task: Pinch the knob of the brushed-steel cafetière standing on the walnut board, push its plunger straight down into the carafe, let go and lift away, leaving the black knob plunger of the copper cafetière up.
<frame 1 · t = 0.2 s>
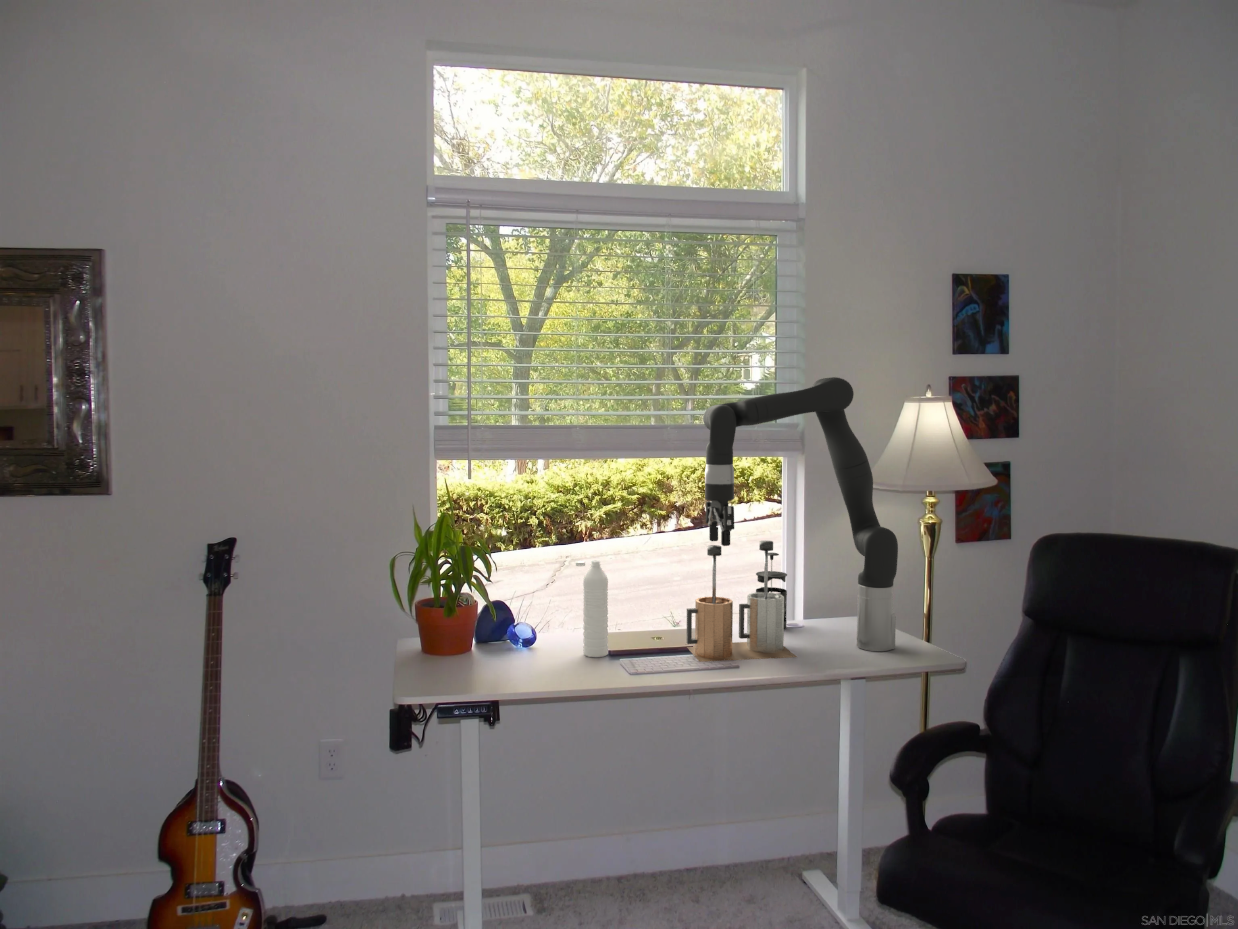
hand: (719, 543, 228), 30 cm above the table, fingers open, 8 cm apart
black knob plunger: (714, 577, 226), point 21 cm above the table, slide at 0.4 cm
copper carafe: (713, 653, 227), resting on board
steel carafe: (765, 647, 232), resting on board
board: (739, 655, 230), on the table
steel plunger: (766, 571, 231), point 22 cm above the table, slide at 0.0 cm
water bottle: (591, 655, 230), on the table
french press: (770, 631, 255), on the table
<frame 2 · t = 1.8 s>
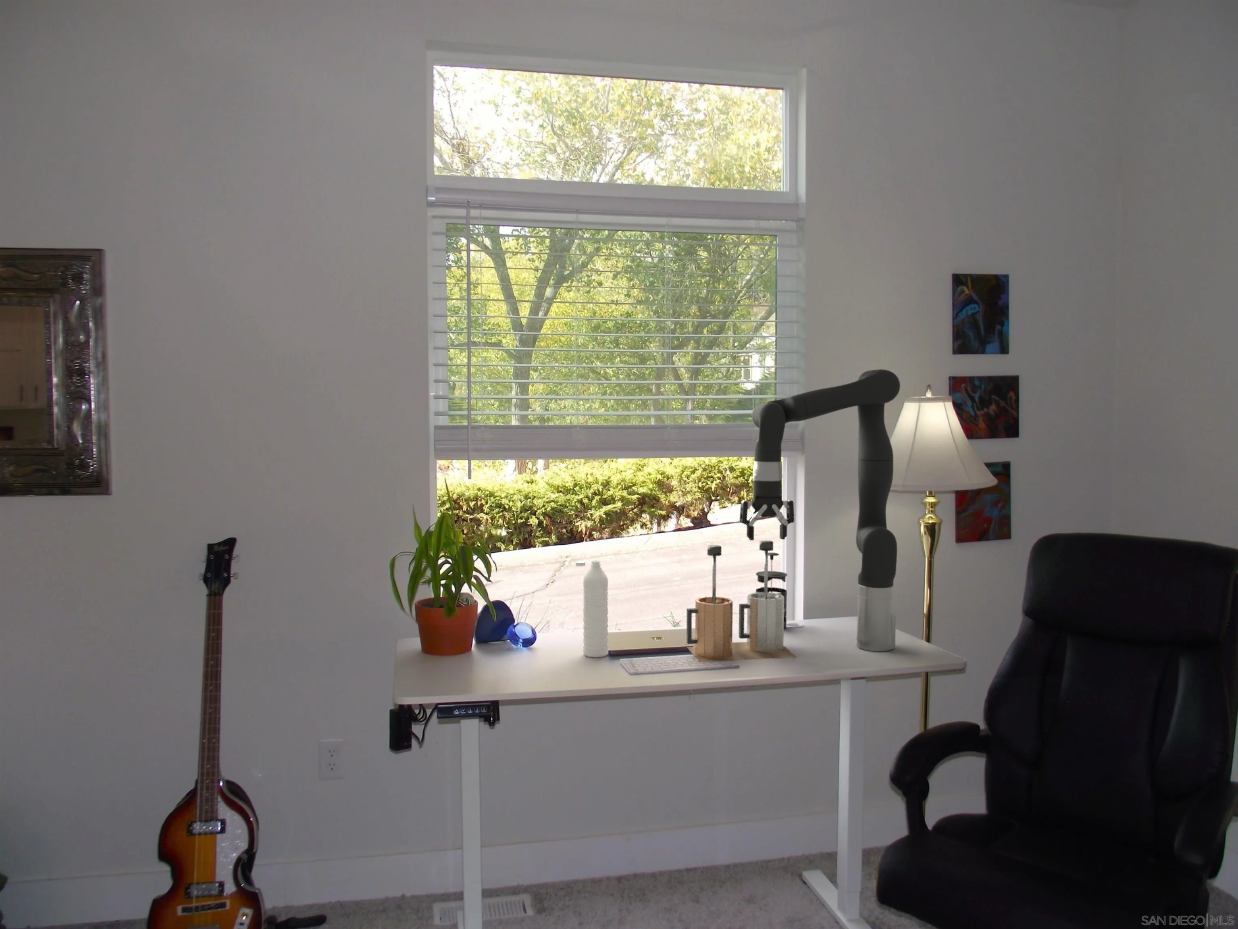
hand: (766, 539, 230), 30 cm above the table, fingers open, 8 cm apart
nothing on the table moved.
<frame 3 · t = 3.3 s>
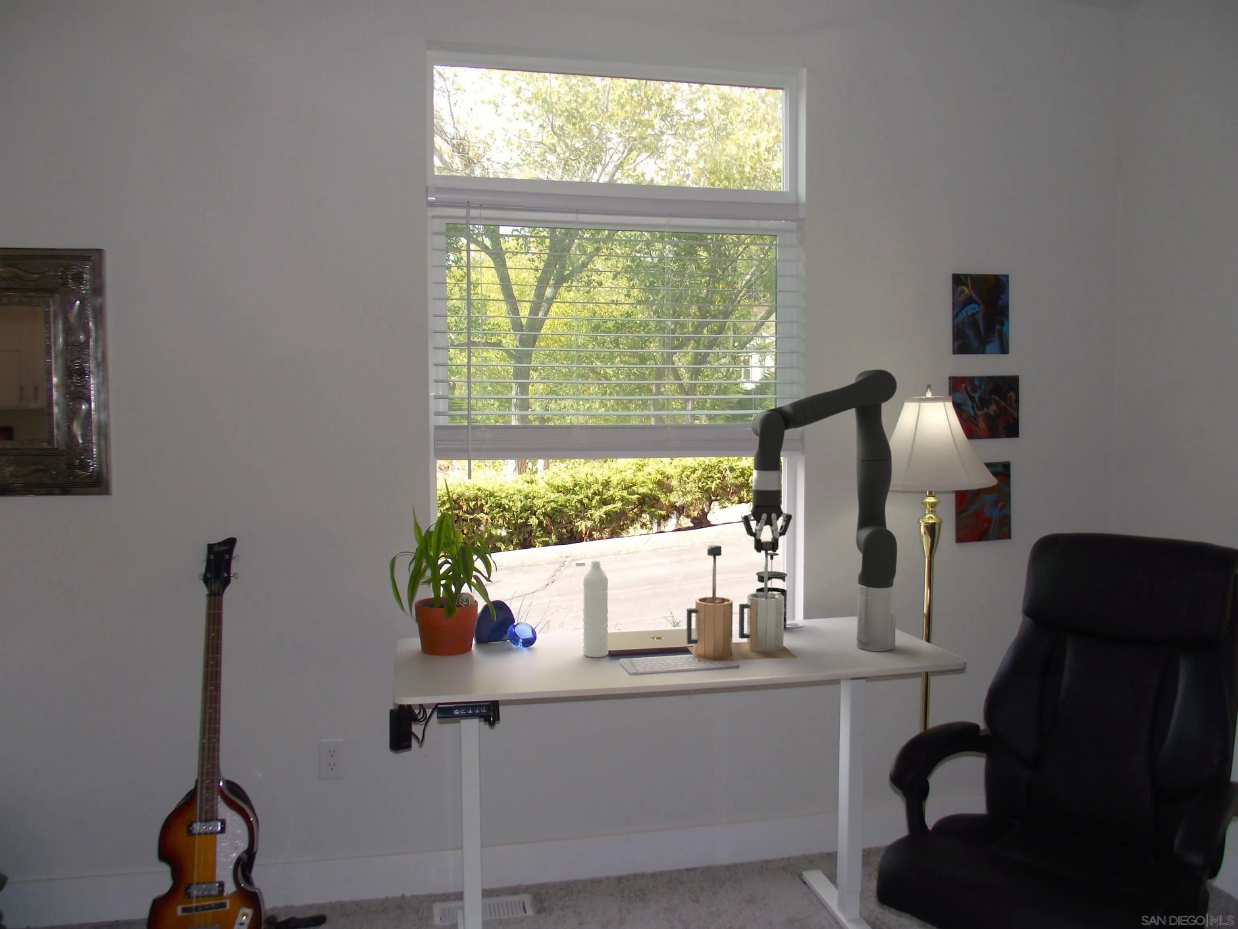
hand: (766, 551, 230), 27 cm above the table, fingers closed on steel plunger, 3 cm apart
steel plunger: (766, 571, 231), point 22 cm above the table, slide at 0.0 cm, touching gripper
everything else where it was.
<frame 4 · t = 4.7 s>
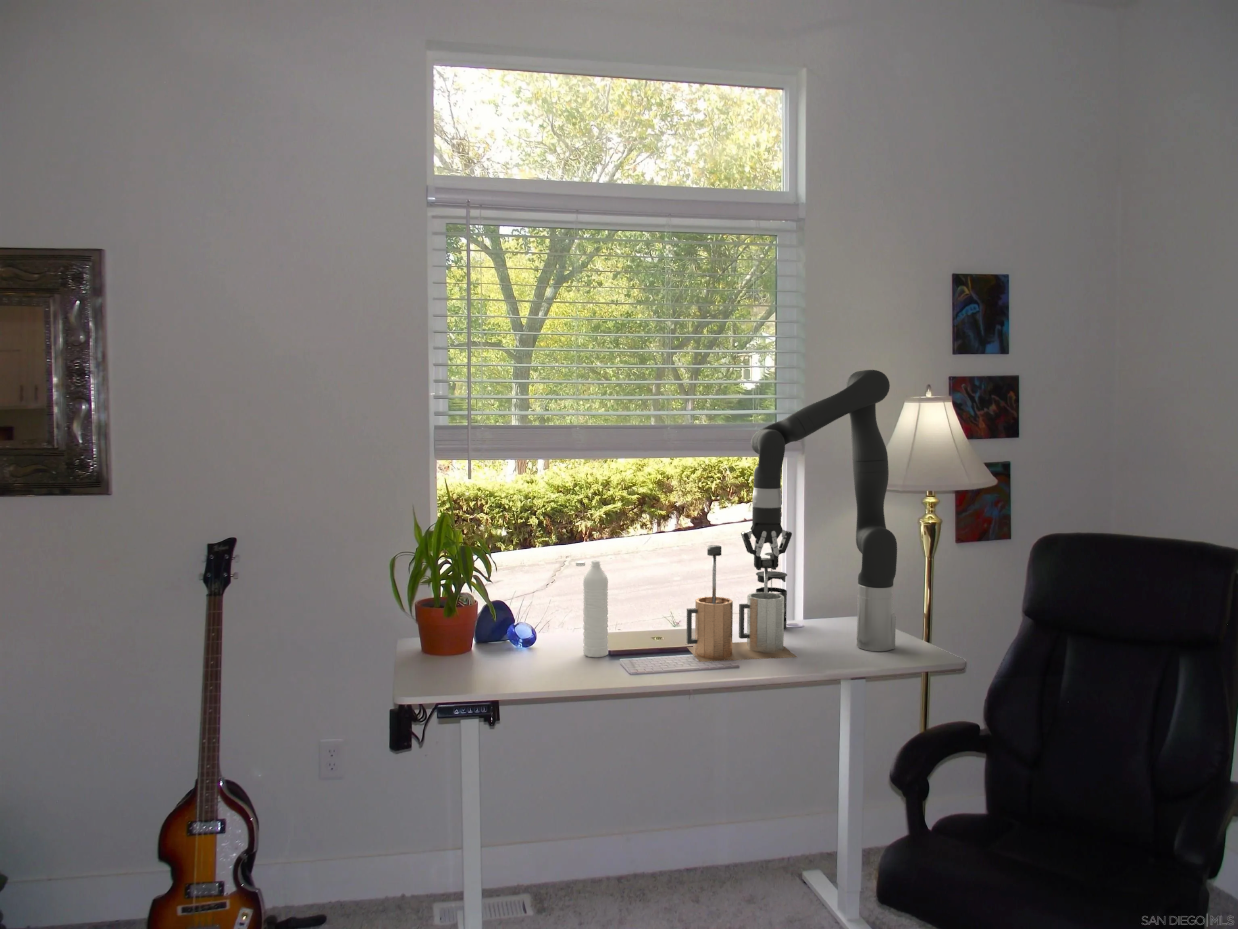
hand: (765, 569, 231), 22 cm above the table, fingers closed on steel plunger, 3 cm apart
steel plunger: (765, 589, 231), point 17 cm above the table, slide at 4.7 cm, touching gripper
everything else where it was.
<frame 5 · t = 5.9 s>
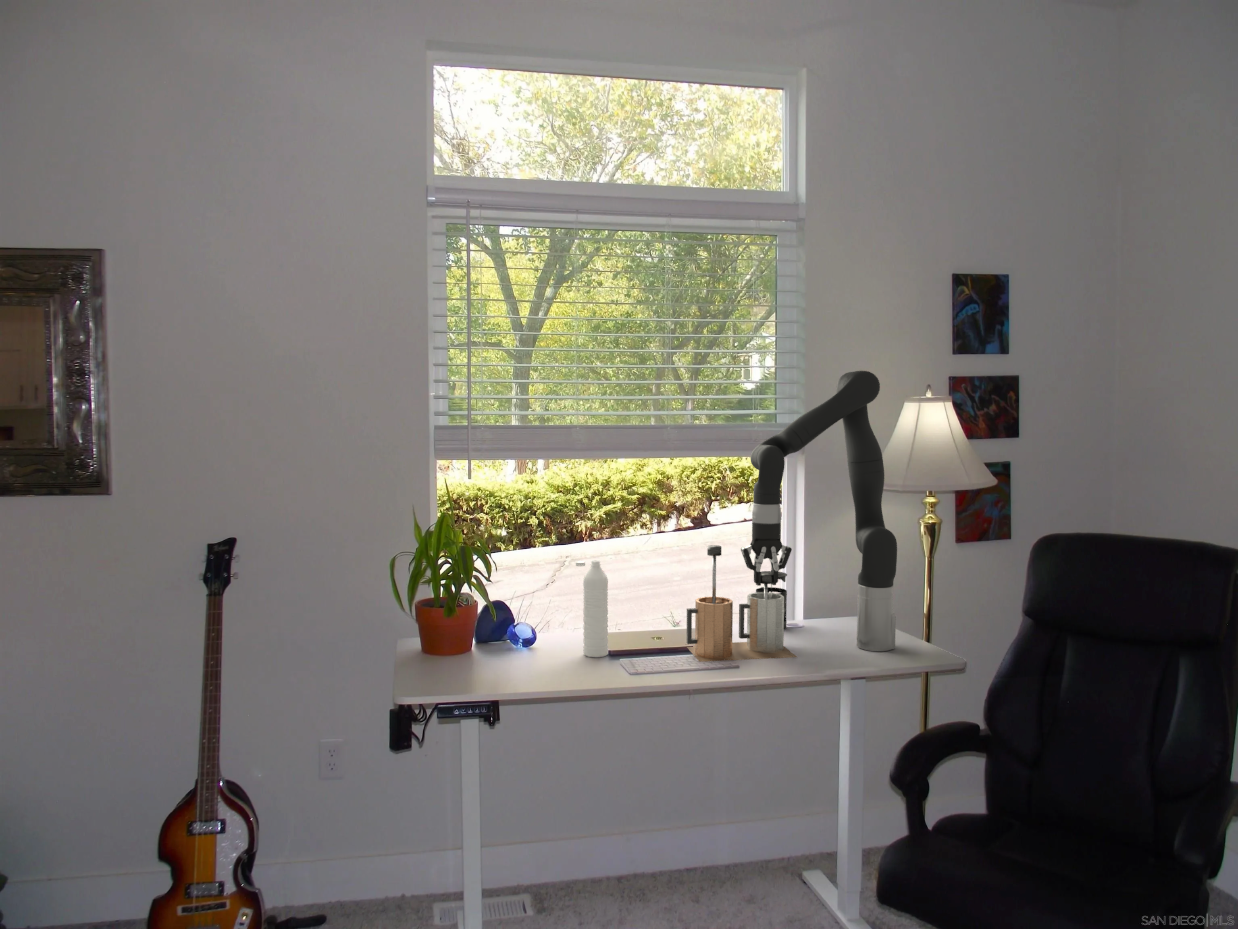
hand: (765, 584, 231), 18 cm above the table, fingers closed on steel plunger, 3 cm apart
steel plunger: (765, 604, 231), point 13 cm above the table, slide at 8.8 cm, touching gripper
everything else where it was.
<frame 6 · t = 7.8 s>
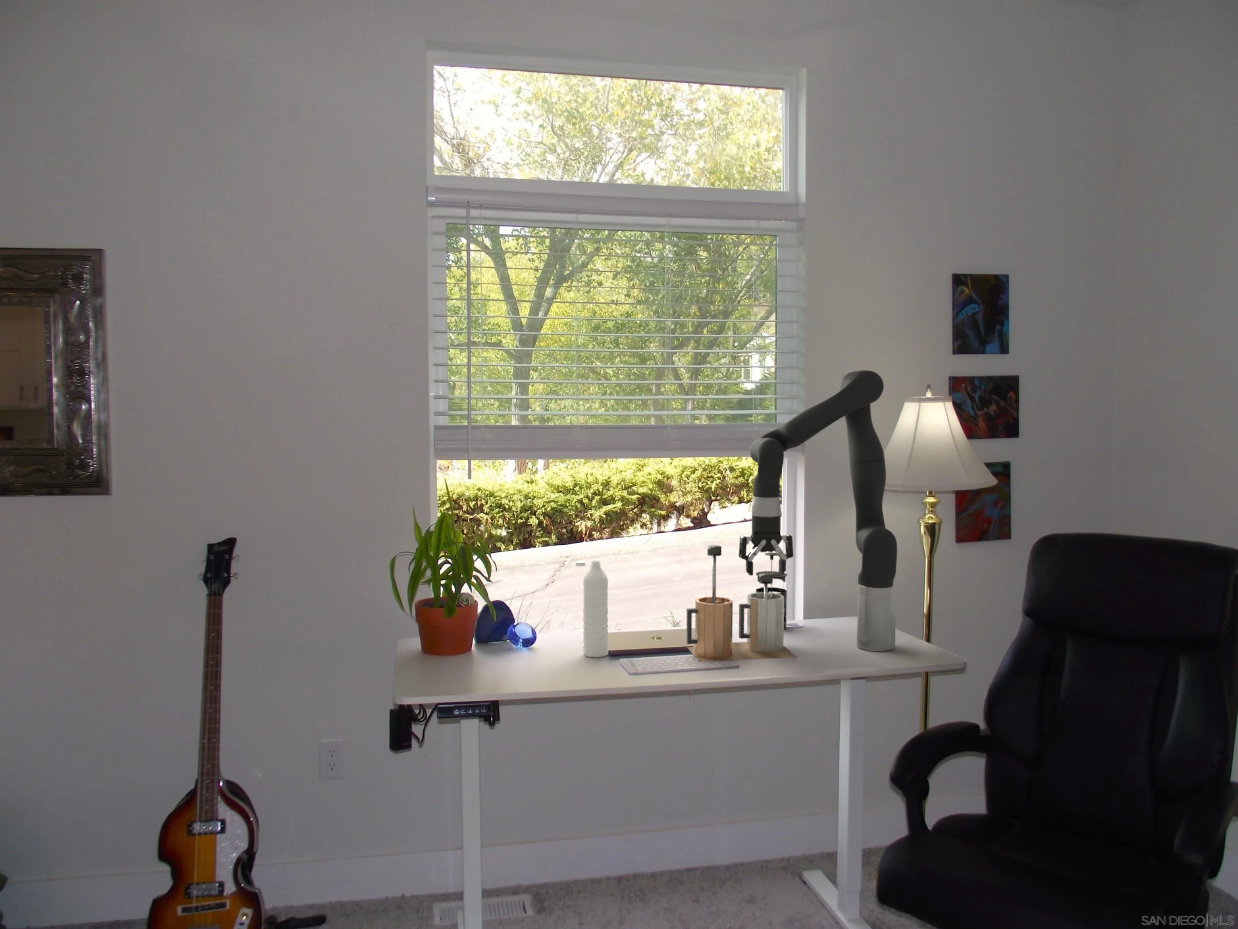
hand: (765, 574, 231), 21 cm above the table, fingers open, 8 cm apart
steel plunger: (765, 604, 231), point 13 cm above the table, slide at 8.8 cm
everything else where it was.
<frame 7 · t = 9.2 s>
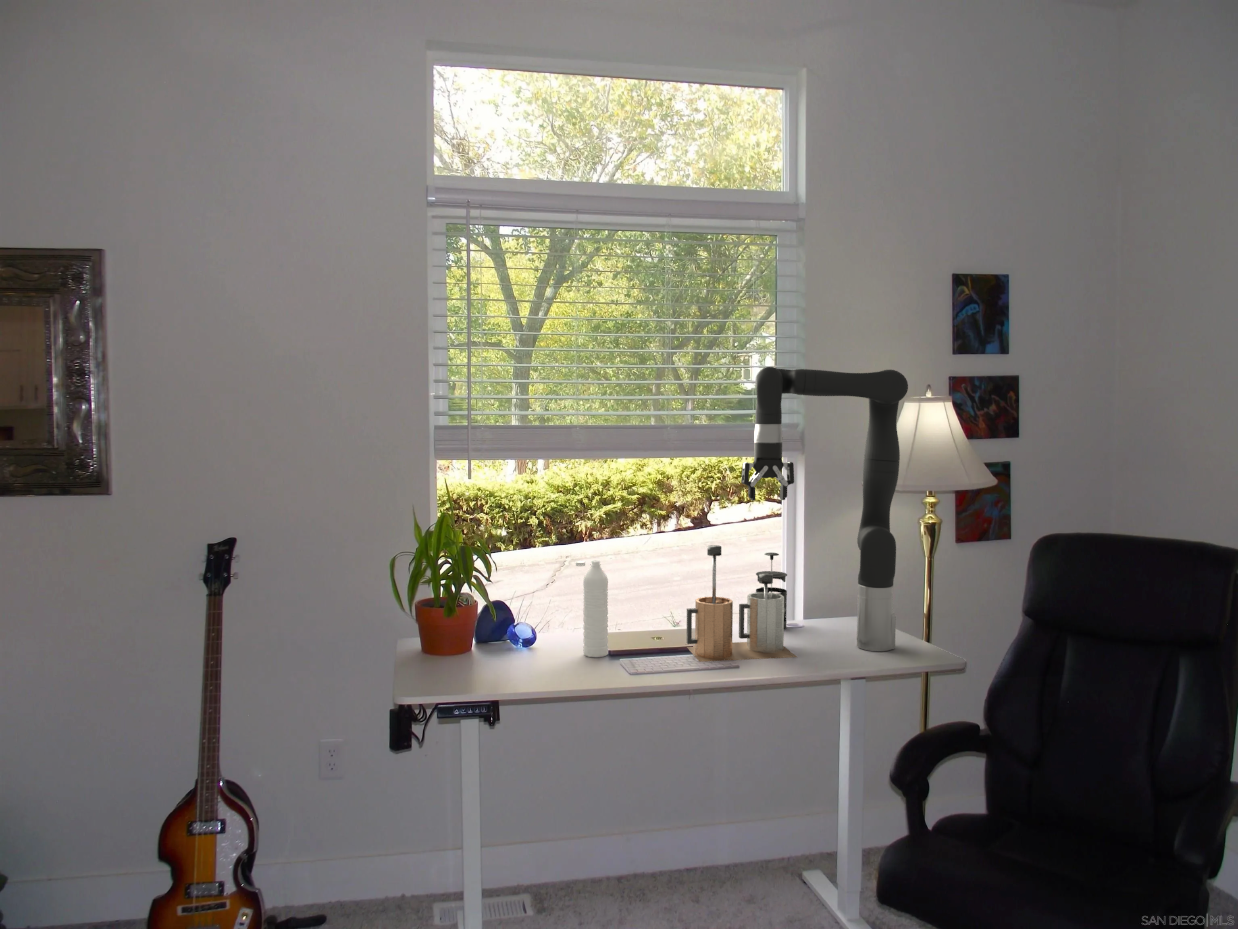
hand: (767, 500, 238), 40 cm above the table, fingers open, 8 cm apart
nothing on the table moved.
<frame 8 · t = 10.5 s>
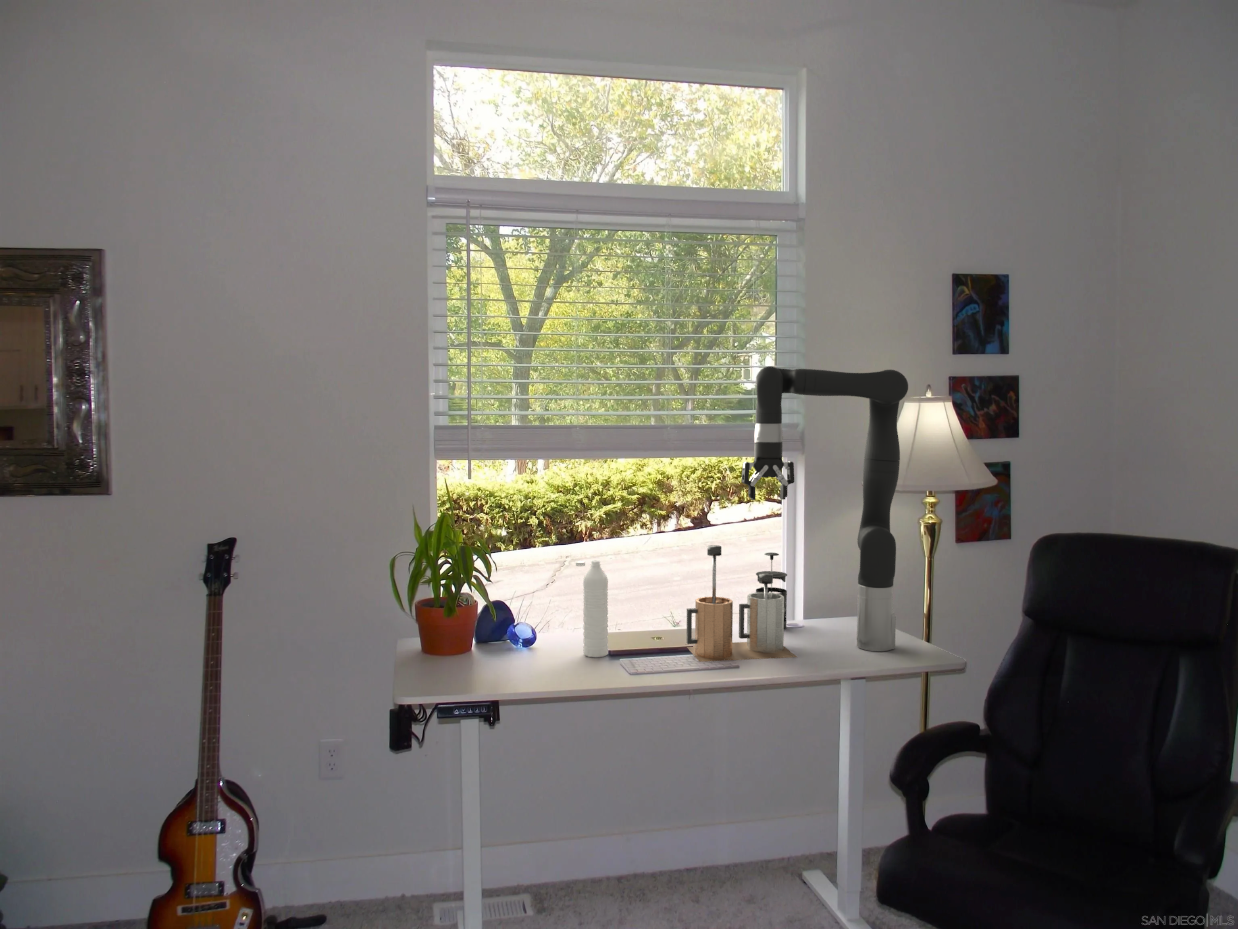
hand: (767, 499, 238), 40 cm above the table, fingers open, 8 cm apart
nothing on the table moved.
at the end: steel plunger slide at 8.8 cm; black knob plunger slide at 0.4 cm; the gripper is holding nothing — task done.
